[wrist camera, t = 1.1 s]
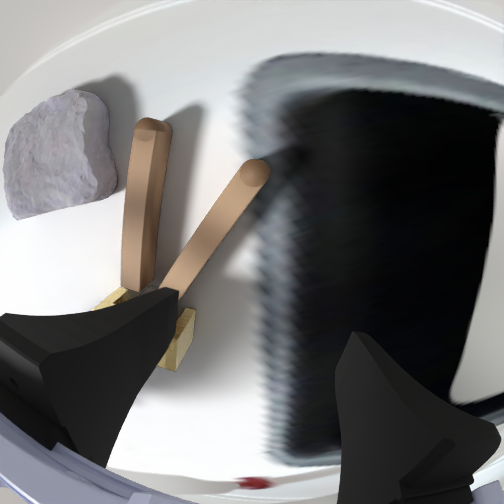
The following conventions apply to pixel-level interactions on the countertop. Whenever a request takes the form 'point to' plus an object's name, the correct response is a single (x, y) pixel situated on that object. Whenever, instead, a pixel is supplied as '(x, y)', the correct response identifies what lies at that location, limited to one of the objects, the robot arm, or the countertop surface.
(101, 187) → the stone block
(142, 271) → the tongs fixed
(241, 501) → the countertop surface
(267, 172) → the tong arm
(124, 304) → the robot arm
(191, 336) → the yellow block
